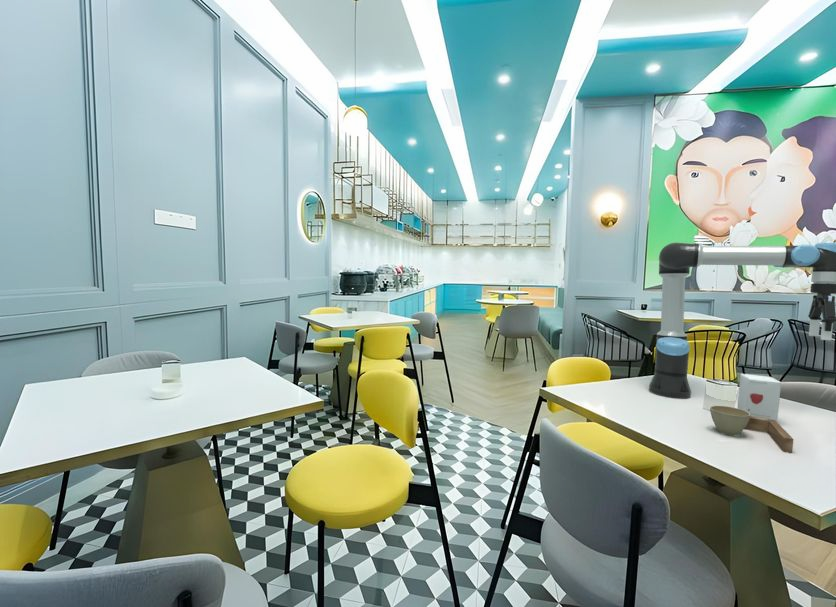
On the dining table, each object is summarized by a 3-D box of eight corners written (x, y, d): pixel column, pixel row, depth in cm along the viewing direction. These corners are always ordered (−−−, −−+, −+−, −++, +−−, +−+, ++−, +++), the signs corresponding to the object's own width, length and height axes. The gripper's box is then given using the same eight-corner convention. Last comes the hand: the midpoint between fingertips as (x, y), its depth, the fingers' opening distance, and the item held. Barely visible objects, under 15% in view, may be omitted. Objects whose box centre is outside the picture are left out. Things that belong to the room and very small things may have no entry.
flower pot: (711, 424, 131) (712, 403, 130) (750, 433, 124) (752, 411, 123) (705, 431, 124) (707, 409, 123) (746, 441, 117) (748, 418, 116)
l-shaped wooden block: (737, 442, 115) (738, 429, 115) (727, 424, 131) (727, 412, 131) (792, 453, 109) (793, 439, 109) (774, 432, 125) (775, 420, 125)
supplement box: (744, 420, 135) (747, 378, 134) (736, 413, 143) (739, 373, 142) (778, 425, 131) (782, 382, 130) (768, 417, 139) (771, 376, 138)
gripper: (852, 283, 137) (846, 342, 139) (826, 283, 159) (821, 335, 160) (823, 282, 141) (817, 340, 143) (801, 283, 163) (796, 333, 164)
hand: (819, 337), depth 151 cm, fingers open, 13 cm apart
